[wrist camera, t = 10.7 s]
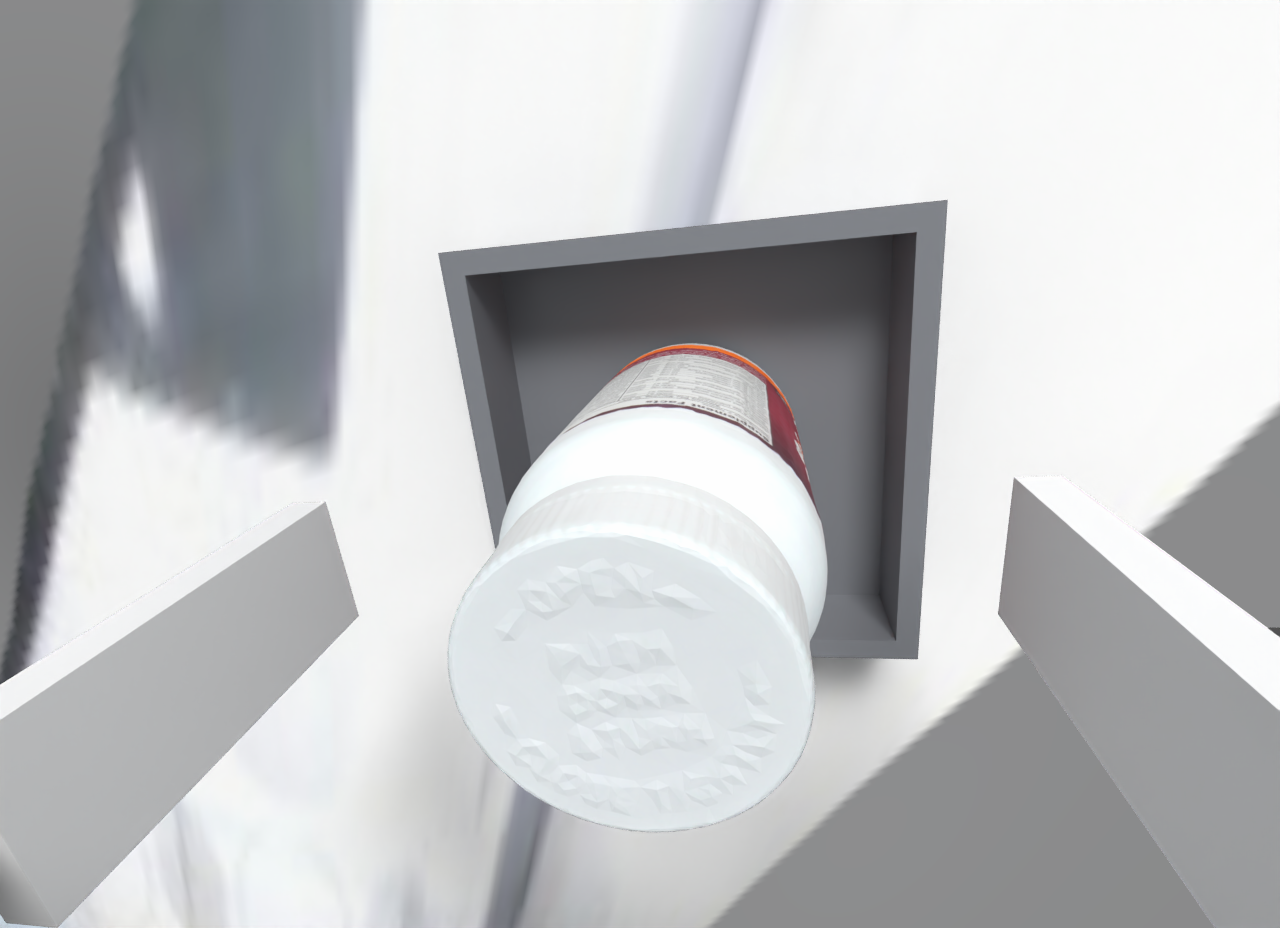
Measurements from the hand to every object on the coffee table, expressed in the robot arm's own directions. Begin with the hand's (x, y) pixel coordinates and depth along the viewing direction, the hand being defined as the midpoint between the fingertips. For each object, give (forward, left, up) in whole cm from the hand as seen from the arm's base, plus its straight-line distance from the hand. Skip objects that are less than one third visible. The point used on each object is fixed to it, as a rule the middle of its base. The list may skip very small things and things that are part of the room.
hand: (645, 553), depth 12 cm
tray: (0, 0, -8) cm, 8 cm away
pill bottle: (0, 0, -8) cm, 8 cm away
